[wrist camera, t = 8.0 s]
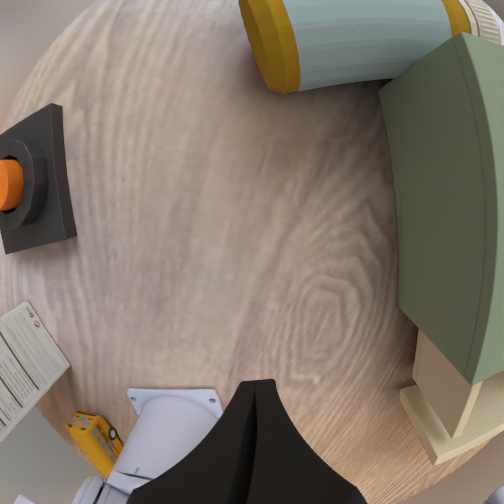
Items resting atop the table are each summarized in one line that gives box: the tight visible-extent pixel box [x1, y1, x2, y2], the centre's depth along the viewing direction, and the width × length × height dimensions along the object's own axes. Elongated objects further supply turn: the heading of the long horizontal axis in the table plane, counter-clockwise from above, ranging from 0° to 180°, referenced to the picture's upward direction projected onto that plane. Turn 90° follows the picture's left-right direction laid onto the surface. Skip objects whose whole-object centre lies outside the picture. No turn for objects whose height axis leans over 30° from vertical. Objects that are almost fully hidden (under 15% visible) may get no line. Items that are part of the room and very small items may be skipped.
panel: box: [0, 103, 77, 254], centre depth 16 cm, size 10×8×3 cm
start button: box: [0, 160, 24, 211], centre depth 14 cm, size 4×4×2 cm
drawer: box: [399, 329, 504, 466], centre depth 14 cm, size 18×11×8 cm, turn 9°
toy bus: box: [67, 411, 123, 477], centre depth 21 cm, size 3×10×4 cm, turn 9°
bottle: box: [239, 0, 501, 94], centre depth 11 cm, size 7×7×15 cm
